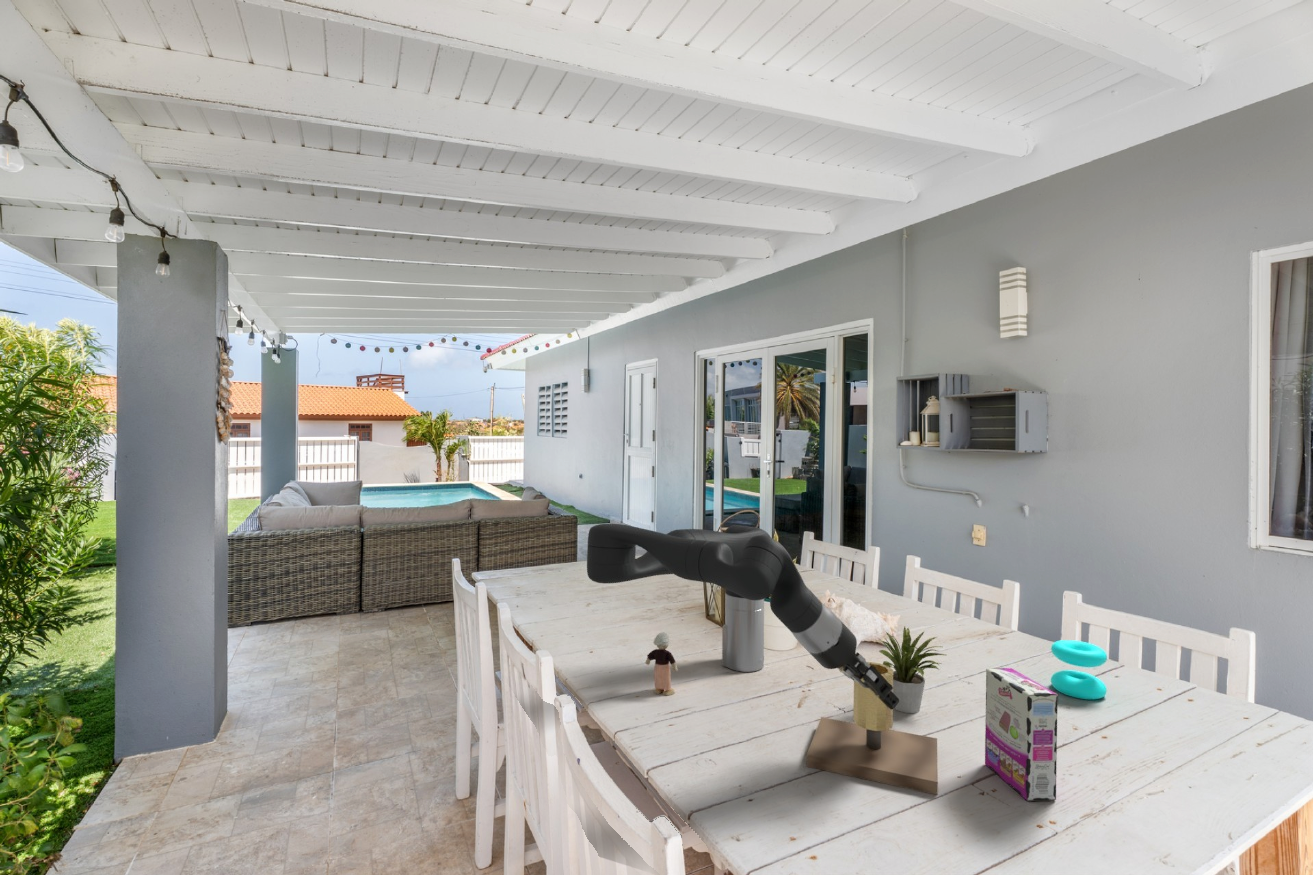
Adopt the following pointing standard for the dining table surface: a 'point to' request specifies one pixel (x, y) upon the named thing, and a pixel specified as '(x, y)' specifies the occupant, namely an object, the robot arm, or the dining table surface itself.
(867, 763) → the post plate
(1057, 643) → the donuts
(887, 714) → the brass sleeve
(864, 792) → the dining table surface
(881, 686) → the robot arm
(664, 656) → the grandmother figurine
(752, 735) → the dining table surface
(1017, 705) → the candy bar box
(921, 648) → the house plant
